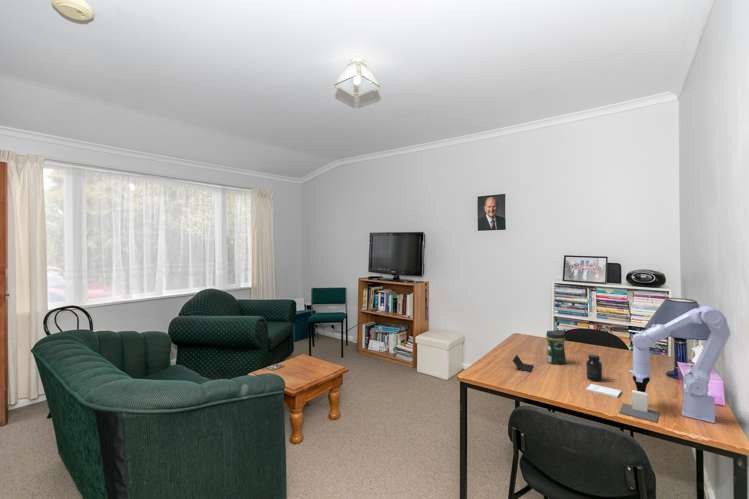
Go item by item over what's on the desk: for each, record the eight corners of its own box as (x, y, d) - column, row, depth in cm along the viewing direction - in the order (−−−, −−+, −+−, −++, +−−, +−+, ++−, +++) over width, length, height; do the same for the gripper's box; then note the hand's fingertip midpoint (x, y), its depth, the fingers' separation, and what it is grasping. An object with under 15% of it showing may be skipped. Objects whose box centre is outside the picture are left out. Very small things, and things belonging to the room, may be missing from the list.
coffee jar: (560, 360, 209) (560, 329, 209) (567, 364, 201) (567, 332, 201) (544, 360, 209) (544, 329, 209) (550, 365, 202) (550, 332, 201)
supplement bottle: (592, 376, 184) (592, 353, 184) (605, 380, 178) (605, 356, 178) (583, 378, 182) (583, 354, 181) (595, 382, 175) (595, 358, 175)
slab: (647, 410, 145) (647, 393, 145) (647, 412, 143) (647, 395, 143) (632, 406, 148) (632, 389, 148) (632, 408, 146) (632, 391, 146)
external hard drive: (617, 399, 158) (586, 391, 166) (621, 393, 163) (591, 386, 172) (617, 395, 158) (586, 388, 166) (621, 390, 163) (591, 383, 172)
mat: (658, 412, 144) (658, 411, 144) (656, 422, 136) (656, 421, 136) (623, 403, 152) (623, 403, 152) (619, 413, 144) (619, 412, 144)
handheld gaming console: (534, 370, 190) (522, 353, 193) (523, 377, 191) (511, 360, 195) (534, 366, 200) (522, 350, 204) (523, 373, 202) (512, 357, 205)
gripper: (631, 356, 158) (632, 386, 158) (627, 364, 147) (627, 397, 148) (651, 359, 153) (651, 390, 154) (648, 368, 143) (648, 402, 143)
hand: (641, 394), depth 150 cm, fingers closed
